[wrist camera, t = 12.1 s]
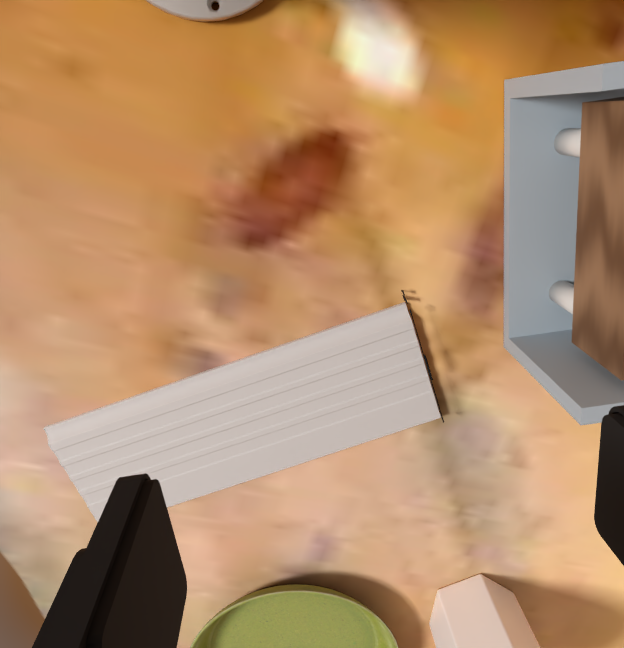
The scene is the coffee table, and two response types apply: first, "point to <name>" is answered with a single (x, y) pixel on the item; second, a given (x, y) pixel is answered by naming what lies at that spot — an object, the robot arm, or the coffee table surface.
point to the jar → (479, 617)
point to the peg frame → (550, 233)
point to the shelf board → (600, 236)
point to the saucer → (295, 621)
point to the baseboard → (255, 413)
